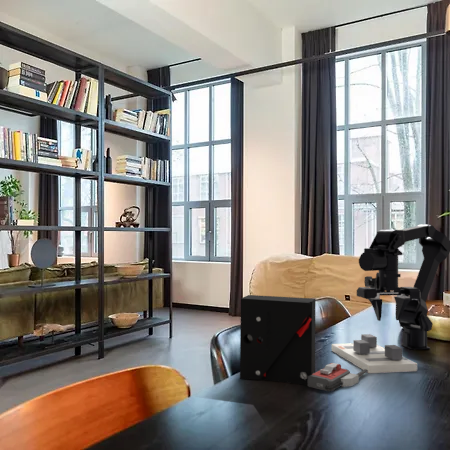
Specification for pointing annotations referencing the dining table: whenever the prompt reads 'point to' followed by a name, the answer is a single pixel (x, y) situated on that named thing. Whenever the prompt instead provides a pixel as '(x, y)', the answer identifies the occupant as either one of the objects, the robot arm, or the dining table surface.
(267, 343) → the electrical component
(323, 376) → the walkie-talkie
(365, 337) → the grey plastic block
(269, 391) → the dining table surface
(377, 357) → the switch board
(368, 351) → the grey block
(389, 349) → the grey squarish block
